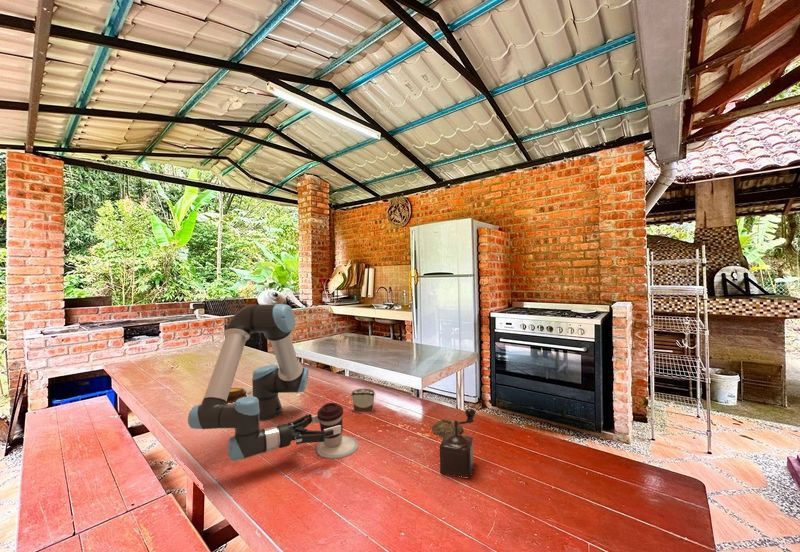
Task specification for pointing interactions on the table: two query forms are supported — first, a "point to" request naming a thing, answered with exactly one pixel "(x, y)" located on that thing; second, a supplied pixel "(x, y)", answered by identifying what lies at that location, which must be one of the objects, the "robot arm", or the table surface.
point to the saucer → (338, 448)
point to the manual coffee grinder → (458, 451)
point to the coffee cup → (331, 422)
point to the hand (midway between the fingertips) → (334, 422)
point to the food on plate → (238, 394)
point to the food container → (363, 400)
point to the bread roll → (445, 427)
